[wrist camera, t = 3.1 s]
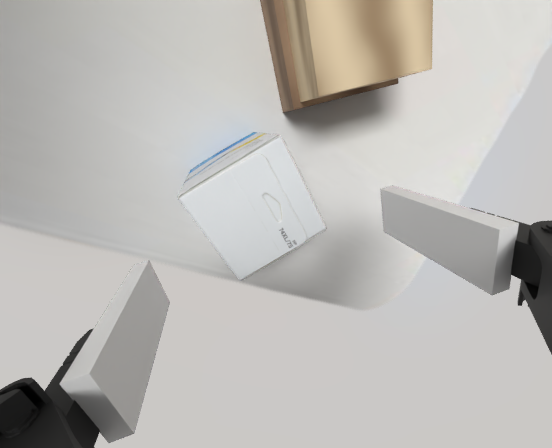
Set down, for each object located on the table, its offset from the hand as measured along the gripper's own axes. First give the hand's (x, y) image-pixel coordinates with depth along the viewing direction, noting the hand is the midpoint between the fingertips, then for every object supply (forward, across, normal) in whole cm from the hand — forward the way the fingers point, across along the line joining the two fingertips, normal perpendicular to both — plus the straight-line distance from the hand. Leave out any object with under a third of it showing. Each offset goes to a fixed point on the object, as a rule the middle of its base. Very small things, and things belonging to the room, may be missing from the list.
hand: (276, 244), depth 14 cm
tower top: (+12, +12, +12) cm, 21 cm away
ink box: (+17, 0, 0) cm, 17 cm away
